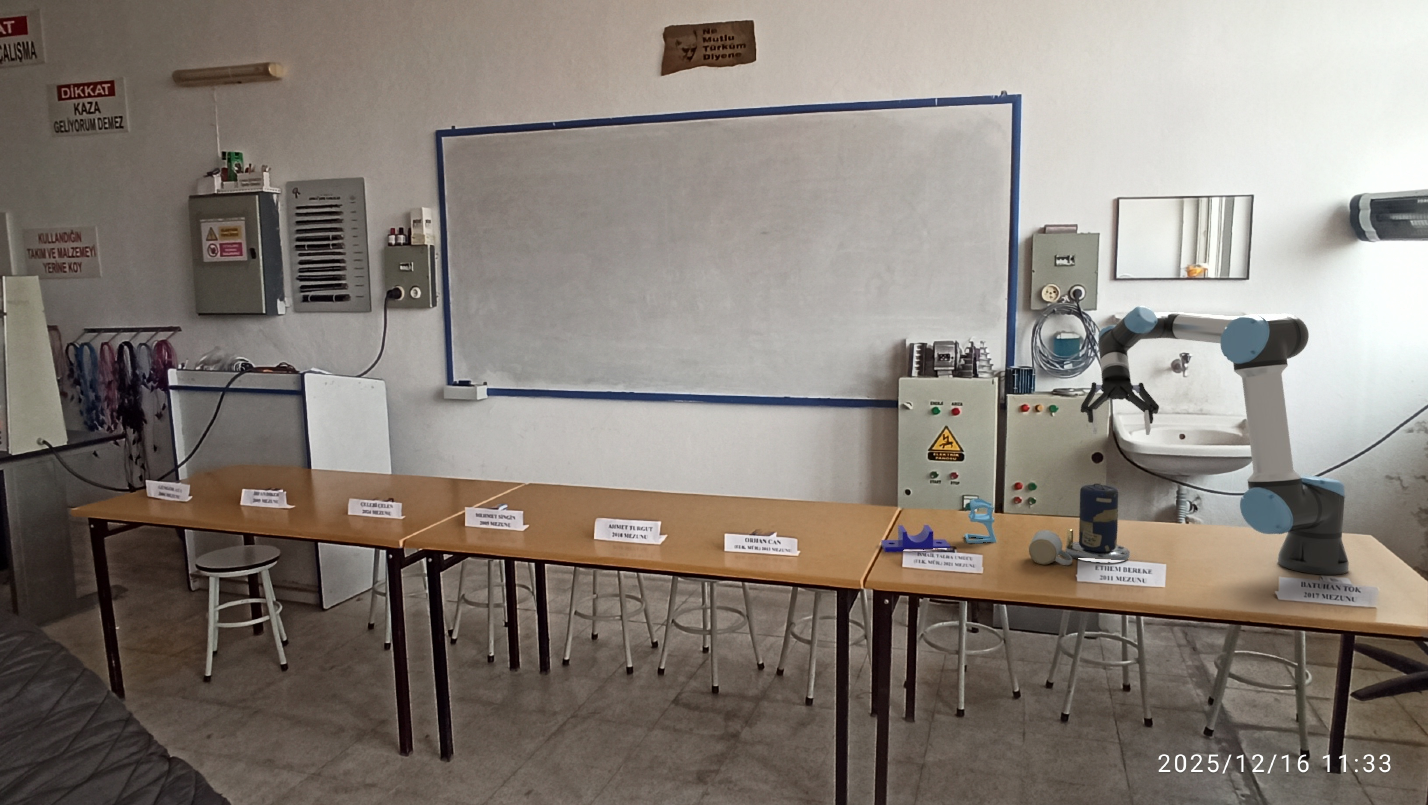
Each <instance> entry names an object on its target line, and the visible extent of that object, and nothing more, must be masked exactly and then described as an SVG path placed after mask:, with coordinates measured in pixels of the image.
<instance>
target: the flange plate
mask: <svg viewBox="0 0 1428 805" xmlns="http://www.w3.org/2000/svg"><path fill="white" fill-rule="evenodd" d="M1065 552H1066V553H1068V554H1069V555H1070V556H1071V557H1072V559H1073V560H1077V559H1078V558H1095V559H1111V560H1127V559H1128V558H1129V557H1130V558H1131V555H1130V554H1131V552H1130V550H1129V549H1128V548H1126V547H1124V546H1121V545H1119V544H1117V546H1116V548H1115V549H1114V550H1112V551H1107V552H1096V551H1090V550H1086V549H1083V548H1082V547H1081V546H1080V545H1079V541H1074V529H1072V528H1067V529H1066V544H1065ZM1130 558H1129V559H1130ZM1127 561H1128V560H1127Z"/></svg>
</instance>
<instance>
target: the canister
mask: <svg viewBox="0 0 1428 805" xmlns="http://www.w3.org/2000/svg"><path fill="white" fill-rule="evenodd" d="M1118 508H1119V490H1118V489H1117V488H1115V486H1111V485H1106V484H1101V483H1093V484H1087V485H1083V486H1081V488H1080V491H1079V514H1078V516H1079V520H1078V521H1079V522H1078V523H1079V526H1078V527H1079V528H1078V531H1079V532H1078V542H1079V545H1080V546H1081V547H1082V548H1083V549H1086V550H1090V551H1096V552H1107V551H1112V550H1114V549H1115V548H1116V546H1117V545H1118V544H1117V543H1118V528H1119V526H1118V523H1119V522H1118V521H1119V520H1118V519H1119V513H1118V512H1119V509H1118Z"/></svg>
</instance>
